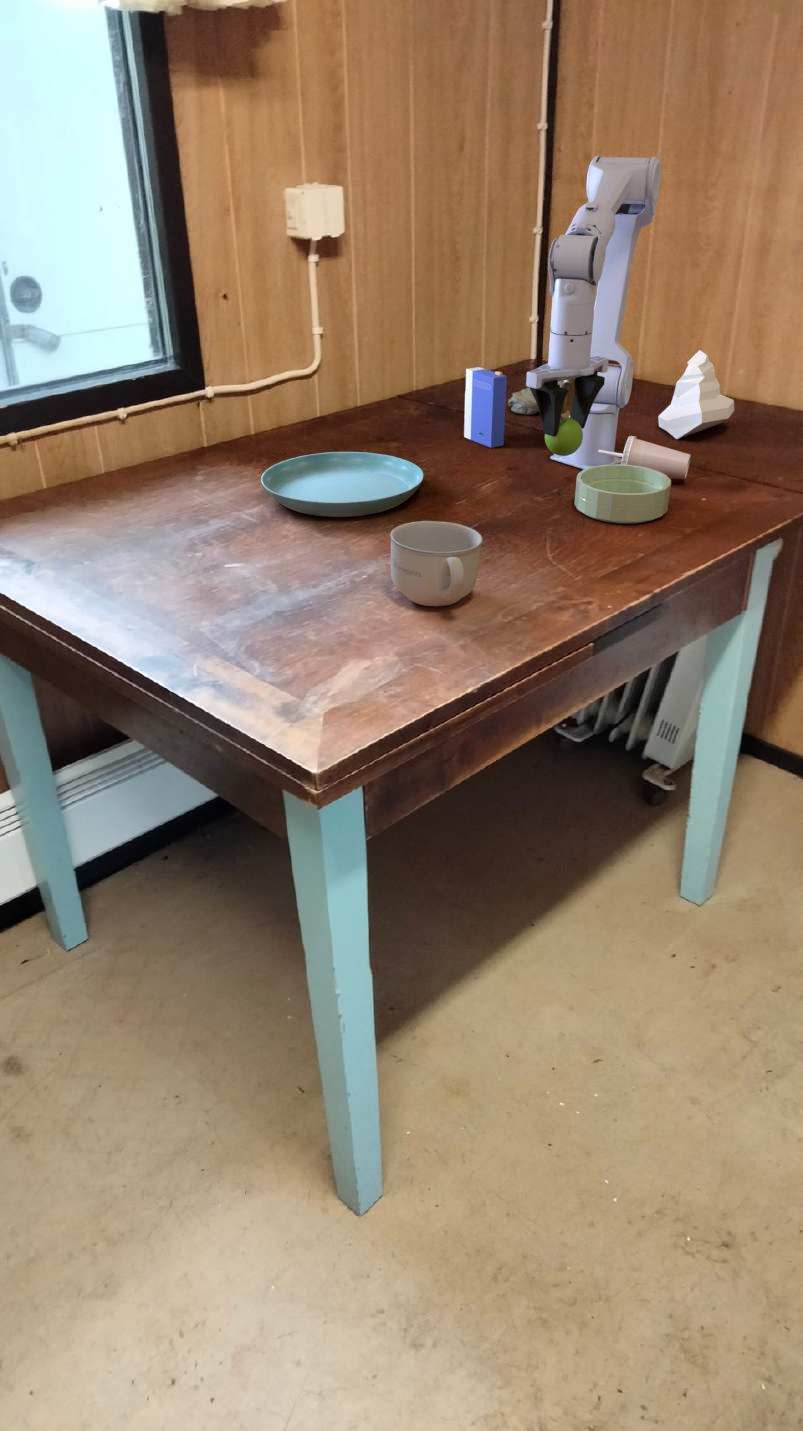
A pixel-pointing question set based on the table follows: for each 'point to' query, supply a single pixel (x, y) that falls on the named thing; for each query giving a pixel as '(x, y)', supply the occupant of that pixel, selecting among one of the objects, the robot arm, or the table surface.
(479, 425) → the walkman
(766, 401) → the table surface
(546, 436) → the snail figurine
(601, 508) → the bowl
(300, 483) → the teal plate
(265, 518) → the table surface
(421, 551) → the teacup
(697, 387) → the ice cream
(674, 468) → the smoothie
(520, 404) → the elongated rock
